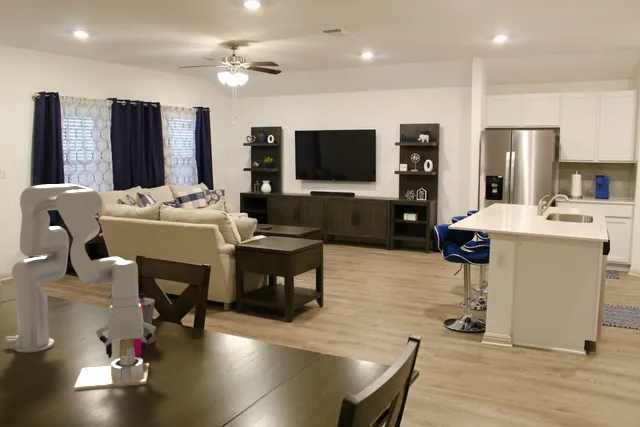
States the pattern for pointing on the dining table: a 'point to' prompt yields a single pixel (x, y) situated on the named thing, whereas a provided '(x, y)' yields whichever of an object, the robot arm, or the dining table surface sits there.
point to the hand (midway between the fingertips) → (126, 355)
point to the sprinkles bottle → (127, 352)
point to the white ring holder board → (113, 375)
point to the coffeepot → (147, 314)
